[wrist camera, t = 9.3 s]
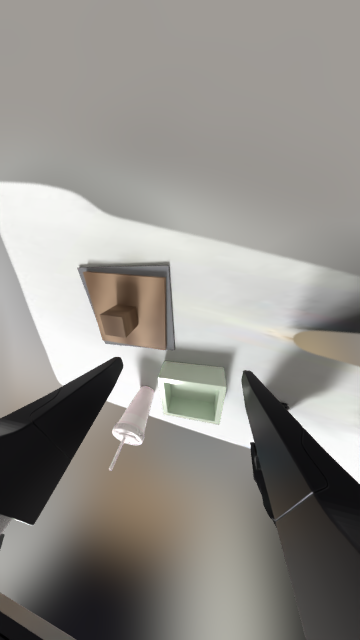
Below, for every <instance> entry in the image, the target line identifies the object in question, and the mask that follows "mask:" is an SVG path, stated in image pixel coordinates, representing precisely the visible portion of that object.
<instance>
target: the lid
mask: <svg viewBox="0 0 360 640" xmlns="http://www.w3.org/2000/svg"><path fill="white" fill-rule="evenodd" d="M83 275H84V278H85V282H86V285H87V288H88V292H89V295H90V299H91V302H92V305H93V309H94V312H95V316H96V319H97V322H98V326H99V329H100V333H101V336H102V339H103V340H104V341H111V342H117V343H123V344H129V345H135V346H142V347H148V348H154V349H160V350H166V348H167V342H166V277H155V276H142V275H129V274H117V273H104V272H91V271H85V272H83Z"/></svg>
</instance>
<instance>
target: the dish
mask: <svg viewBox="0 0 360 640" xmlns="http://www.w3.org/2000/svg"><path fill="white" fill-rule="evenodd" d="M158 384H159V390H160V395H161V401H162V407H163V413H164V415H169V416H175V417H180V418H185V419H191V420H196V421H201V422H207V423H212V424H217V425H219V424H220V419H221V413H222V408H223V403H224V398H225V393H226V380H225V373H224V367H215V366H206V365H197V364H188V363H179V362H170V361H164V362H163V365H162V368H161V370H160V373H159V375H158Z"/></svg>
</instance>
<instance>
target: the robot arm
mask: <svg viewBox="0 0 360 640" xmlns="http://www.w3.org/2000/svg"><path fill="white" fill-rule="evenodd" d="M122 369H123V362H122V359H121V358H120V357H114V358H112V359H110V360H109V361H107V362H105V363H103V364H102V365H100V366H98V367H96V368H94V369H93V370H91V371H89V372H87V373H85V374H84V375H82V376H80V377H78V378H77V379H75V380H73V381H71V382H69V383H68V384H66V385H64V386H63V387H60V388H59V389H57V390H55V391H53V392H52V393H50V394H48V395H46V396H44V397H42V398H40V399H38V400H36V401H34V402H33V403H30V404H28V405H26V406H24V407H22V408H21V409H18V410H16V411H15V412H12V413H11V414H9V415H7V416H5V417H2V418H0V548H1V545H2V541H3V538H4V534H2V532H3V531H4V529H5V528H6V527H7V525H8V524H9V523H10V521H11V520H12V519H15V520H18V521H20V522H23V523H27V524H29V525H32V526H33V525H34V523H35V522H36V520H37V519H38V517H39V515H40V513H41V512H42V510H43V508H44V507H45V505H46V503H47V501H48V500H49V498H50V496H51V494H52V493H53V491H54V489H55V488H56V486H57V484H58V482H59V481H60V479H61V477H62V476H63V474H64V472H65V470H66V469H67V467H68V465H69V464H70V462H71V460H72V458H73V457H74V455H75V453H76V451H77V450H78V448H79V446H80V445H81V443H82V441H83V439H84V438H85V436H86V434H87V432H88V431H89V429H90V427H91V426H92V424H93V422H94V421H95V419H96V417H97V415H98V414H99V412H100V410H101V408H102V407H103V405H104V403H105V402H106V400H107V398H108V396H109V395H110V393H111V391H112V390H113V388H114V386H115V384H116V382H117V380H118V377H119V375H120V373H121V371H122ZM242 388H243V395H244V401H245V407H246V412H247V415H248V419H249V423H250V427H251V431H252V434H253V438H254V442H255V443H254V442H250V444H251V457H252V465H253V476H254V480H255V482H256V483H257V485H258V488H259V490H260V492H261V494H262V498H263V504H264V507H265V509H266V511H267V513H268V515H269V517H270V518H271V519H272V520H273V522H274V524H275V526H276V527H277V530H278V534H279V538H280V541H281V545H282V549H283V553H284V557H285V561H286V565H287V569H288V572H289V576H290V580H291V584H292V588H293V592H294V595H295V599H296V603H297V606H298V610H299V614H300V618H301V622H302V626H303V630H304V633H305V637H306V640H360V484H359V483H358V482H357V481H356V480H355V479H354V478H353V477H352V476H351V475H349V474H348V473H347V472H346V471H345V470H344V469H343V468H342V467H341V466H340V465H339V464H338V463H337V462H336V461H335V460H334V459H333V458H332V457H331V456H330V455H329V454H328V453H327V452H326V451H325V450H324V449H323V448H322V447H321V446H320V445H319V444H318V443H317V442H316V441H315V439H314V438H313V437H312V436H311V435H310V434H309V433H308V432H307V431H306V430H305V429H304V428H303V427H302V426H301V425H300V423H299V422H298V421H297V420H296V419H295V418H294V417H293V416H292V415H291V414H290V413H289V412H288V411H287V410H288V408H289V407H288V405H287V404H284V403H280V402H279V401H278V400H277V399H276V398H275V397H274V395H273V394H272V393H271V392H270V391H269V390H268V389H267V388H266V387H265V386H264V385H263V384H262V382H261V381H260V380H259V379H258V378H257V377H256V376H255V375H254V374H253V373H252V372H251V371H247V370H244V371H243V375H242ZM0 640H76V639H74V638H72V637H71V636H69V635H68V634H66V633H64V632H63V631H61V630H60V629H58V628H56V627H55V626H53V625H52V624H50V623H48V622H47V621H45V620H44V619H42V618H40V617H39V616H37V615H35V614H34V613H32V612H31V611H29V610H28V609H26V608H24V607H23V606H21V605H19V604H18V603H16V602H15V601H13V600H11V599H10V598H8V597H6V596H5V595H3V594H2V593H0Z"/></svg>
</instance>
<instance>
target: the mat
mask: <svg viewBox="0 0 360 640" xmlns="http://www.w3.org/2000/svg"><path fill="white" fill-rule="evenodd" d="M77 269H78V271H79V274H80V277H81V279H82V282H83V285H84V287H85V290H86V293H87V296H88V298H89V301H90V304H91V306H92V309H93V305H92V302H91V299H90V295H89V292H88V288H87V285H86V282H85V278H84V275H83V272H85V271H91V272H104V273H117V274H129V275H142V276H155V277H166V342H167V348H166V350H175V345H174V331H173V316H172V302H171V288H170V274H169V265H164V266H123V267H82V268H77ZM93 312H94V309H93ZM94 314H95V312H94ZM95 317H96V316H95ZM96 320H97V319H96ZM105 344H114V345H125V346H135V345H129V344H123V343H117V342H111V341H105ZM135 347H142V346H135ZM145 348H148V347H145Z"/></svg>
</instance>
